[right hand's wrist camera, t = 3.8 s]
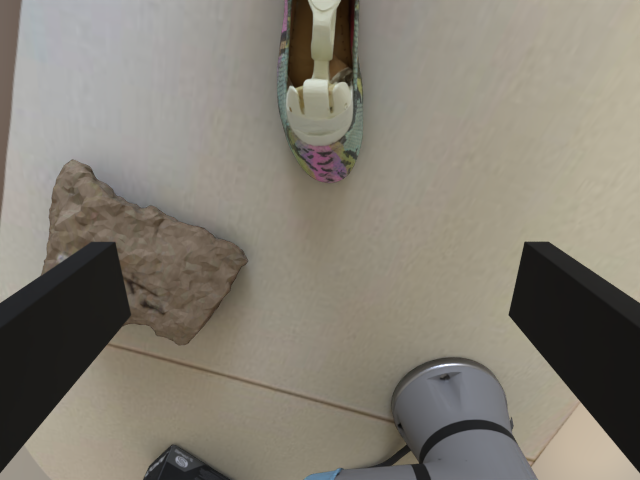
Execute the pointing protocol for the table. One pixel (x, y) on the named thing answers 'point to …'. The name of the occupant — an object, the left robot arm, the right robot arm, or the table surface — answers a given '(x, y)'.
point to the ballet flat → (321, 86)
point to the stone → (144, 253)
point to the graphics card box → (180, 467)
